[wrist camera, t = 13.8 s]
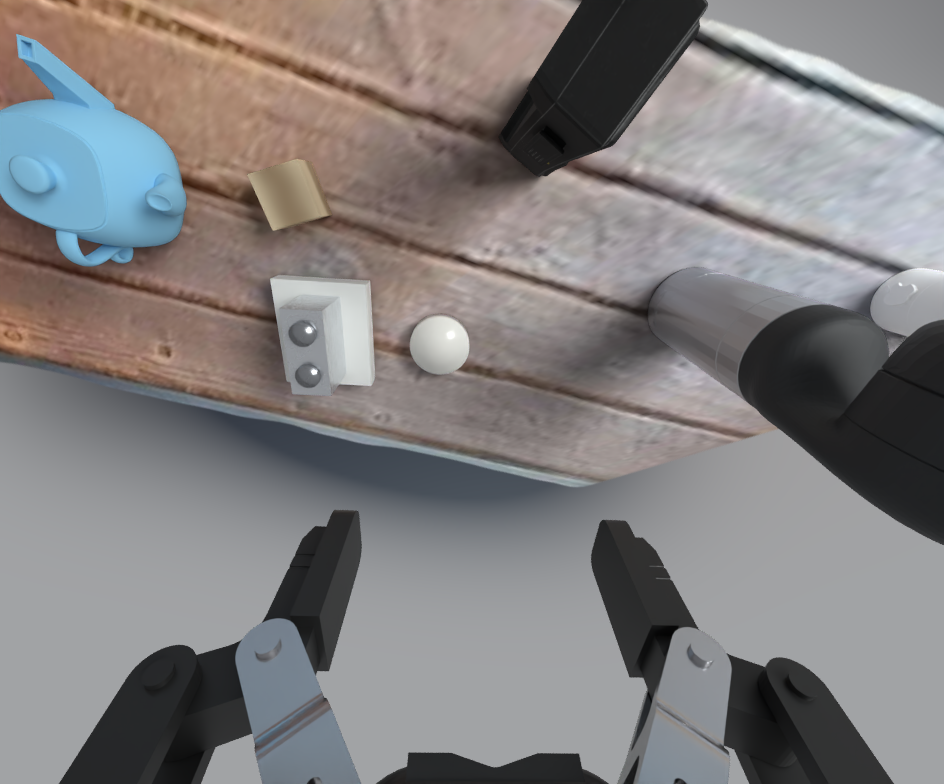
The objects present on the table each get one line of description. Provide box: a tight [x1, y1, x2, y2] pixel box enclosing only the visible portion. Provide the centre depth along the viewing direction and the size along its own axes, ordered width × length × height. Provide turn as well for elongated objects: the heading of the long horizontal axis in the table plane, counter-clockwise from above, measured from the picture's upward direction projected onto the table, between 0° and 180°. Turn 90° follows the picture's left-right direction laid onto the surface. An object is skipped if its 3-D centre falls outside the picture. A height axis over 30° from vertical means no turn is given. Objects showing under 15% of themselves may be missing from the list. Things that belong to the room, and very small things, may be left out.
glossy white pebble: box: [410, 314, 469, 374], centre depth 47 cm, size 7×7×2 cm
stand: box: [270, 275, 375, 386], centre depth 45 cm, size 10×12×3 cm
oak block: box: [247, 159, 332, 231], centre depth 39 cm, size 5×5×4 cm
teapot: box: [0, 34, 187, 266], centre depth 34 cm, size 15×14×11 cm
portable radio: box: [499, 0, 708, 177], centre depth 27 cm, size 8×6×25 cm
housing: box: [279, 294, 347, 396], centre depth 41 cm, size 4×9×7 cm, turn 176°
